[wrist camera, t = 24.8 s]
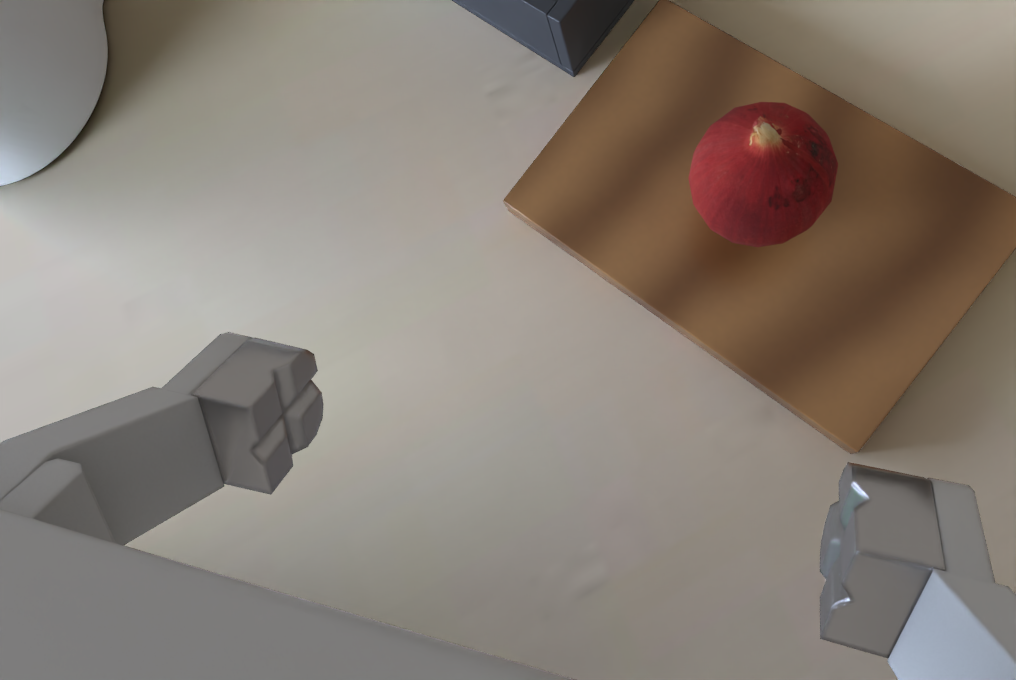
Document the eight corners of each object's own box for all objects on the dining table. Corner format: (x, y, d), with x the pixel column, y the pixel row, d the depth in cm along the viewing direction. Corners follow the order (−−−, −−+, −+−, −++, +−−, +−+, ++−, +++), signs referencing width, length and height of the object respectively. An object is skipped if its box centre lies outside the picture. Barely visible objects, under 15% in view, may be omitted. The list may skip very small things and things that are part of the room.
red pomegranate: (830, 156, 36) (869, 64, 28) (809, 276, 35) (843, 216, 27) (701, 141, 37) (705, 50, 30) (678, 256, 36) (676, 194, 29)
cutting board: (508, 211, 40) (501, 200, 39) (662, 13, 40) (661, -5, 39) (851, 454, 35) (858, 453, 33) (1029, 223, 35) (1043, 211, 33)
